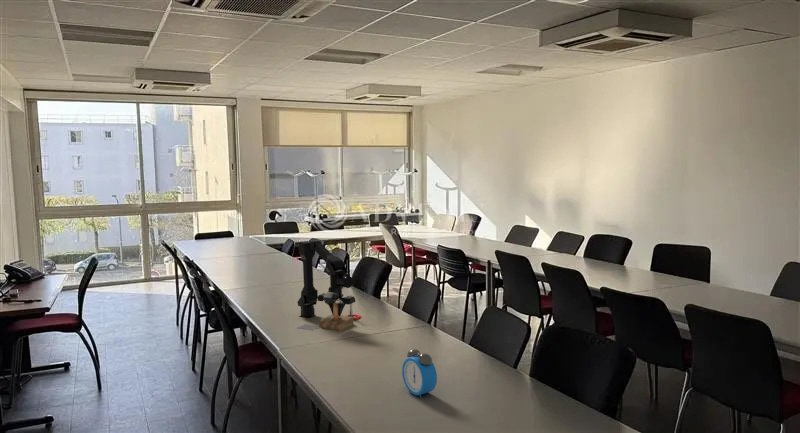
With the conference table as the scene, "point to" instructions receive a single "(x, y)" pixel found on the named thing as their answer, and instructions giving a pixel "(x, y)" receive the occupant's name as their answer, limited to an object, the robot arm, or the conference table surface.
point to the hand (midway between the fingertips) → (336, 315)
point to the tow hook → (352, 313)
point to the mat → (308, 327)
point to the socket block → (336, 322)
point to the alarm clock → (419, 373)
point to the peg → (335, 311)
